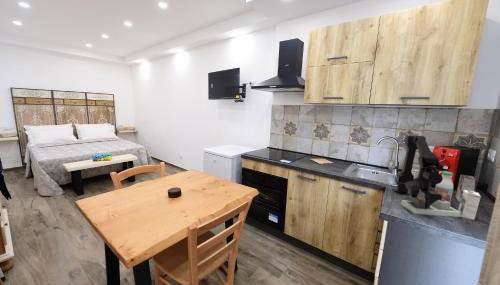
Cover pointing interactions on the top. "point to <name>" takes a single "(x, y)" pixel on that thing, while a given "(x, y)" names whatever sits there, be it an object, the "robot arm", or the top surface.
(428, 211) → the socket strip
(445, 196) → the milk bottle
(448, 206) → the twin plug block
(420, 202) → the plug block
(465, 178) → the coffee box
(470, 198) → the syrup box
